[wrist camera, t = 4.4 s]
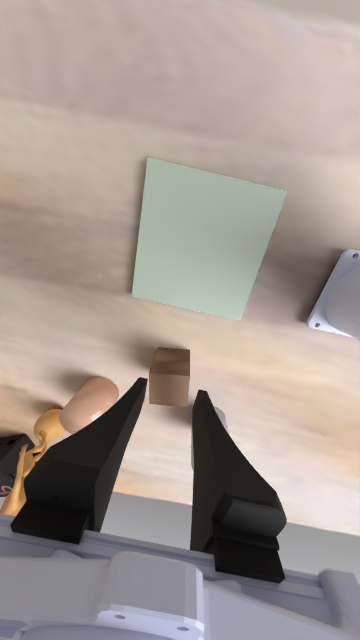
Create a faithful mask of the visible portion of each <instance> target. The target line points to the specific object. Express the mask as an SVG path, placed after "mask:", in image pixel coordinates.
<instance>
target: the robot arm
mask: <svg viewBox="0 0 360 640" xmlns="http://www.w3.org/2000/svg"><path fill="white" fill-rule="evenodd" d="M354 254H355V257H354V258H352V256H353V255H354ZM316 323H318V324H317V325H316V326H315V324H316ZM306 325H307V326H308V327H310V328H313V329H317V330H322V331H326V332H331V333H335V334H340V335H344V336H348V337H353V338H356V339H358V340H360V251H359V250H355V249H347V250H345V251H344V252H343V253H342V255H341V257H340V258H339V260H338V262H337V264H336V266H335V268H334V270H333V272H332V274H331V276H330V278H329V280H328V281H327V283H326V285H325V287H324V289H323V291H322V293H321V295H320V297H319V299H318V301H317V303H316V304H315V306H314V308H313V310H312V312H311V314H310V316H309V318H308V320H307V322H306ZM147 380H148V379H146V378H141V377H140V378H138V379H137V381H136V382H135V383H134V384H133V386H132V387H131V388H130V389H129V390H128V391H127V392H126V393H125V394H124V395H123V396H122V397H121V398H120V399H119V400H118V401H117V402H116V403H115V404H114V405H113V406H112V407H111V408H109V409H108V410H107V411H106V412H105V413H103V414H102V415H101V416H99V417H98V418H97V419H95V420H94V421H93V422H91V423H90V424H88V425H87V426H85V427H84V428H82V429H80V430H79V431H77V432H76V433H74V434H73V435H71V436H69V437H67V438H66V439H64V440H62V441H60V442H58V443H56V444H55V445H53V446H51V447H50V448H49V449H48V450H47V451H46V452H45V453H44V454H43V455H42V457H41V458H40V459H39V460H38V461H37V463H36V464H35V465H34V466H33V468H32V469H31V471H30V472H29V473H28V475H27V476H26V477H25V479H24V491H25V495H26V500H27V501H26V502H25V504H24V505H23V506H22V508H21V509H20V511H19V512H18V514H17V515H16V516H12V515H7V514H2V513H0V640H360V584H359V582H358V580H357V578H356V576H355V575H354V574H353V573H351V572H347V571H342V570H337V569H331V568H327V569H323V570H321V571H320V572H319V573H318V575H315V574H309V573H304V572H299V571H294V570H289V569H284V568H282V565H281V562H280V559H279V555H278V552H277V550H279V544H278V541H277V537H276V536H277V535H278V534H279V533H280V532H281V530H282V529H283V528H284V527H285V525H286V520H287V518H286V516H285V513H284V510H283V507H282V505H281V502H280V500H279V498H278V495H277V493H276V491H275V490H274V489H273V488H272V487H271V486H270V485H269V484H268V483H267V482H266V481H265V480H264V479H263V478H262V477H261V476H260V474H259V473H258V472H257V471H256V470H255V469H254V468H253V466H252V465H251V464H250V463H249V462H248V460H247V459H246V458H245V457H244V455H243V454H242V453H241V451H240V450H239V449H238V447H237V446H236V445H235V443H234V442H233V440H232V439H231V437H230V436H229V434H228V433H227V431H226V429H225V427H224V426H223V424H222V422H221V420H220V419H219V417H218V415H217V413H216V411H215V409H214V407H213V404H212V402H211V400H210V398H209V395H208V393H207V391H203V390H198V393H197V397H196V400H195V403H194V406H193V411H192V435H193V453H194V479H193V505H192V525H191V542H190V543H191V544H190V550H186V549H181V548H176V547H171V546H166V545H160V544H155V543H150V542H145V541H140V540H135V539H130V538H125V537H119V536H115V535H109V534H105V533H100V530H101V527H102V524H103V520H104V517H105V514H106V510H107V507H108V504H109V501H110V497H111V494H112V491H113V487H114V484H115V481H116V478H117V475H118V471H119V468H120V465H121V462H122V459H123V456H124V452H125V449H126V447H127V444H128V441H129V439H130V436H131V434H132V432H133V429H134V427H135V424H136V422H137V419H138V417H139V414H140V412H141V408H142V405H143V402H144V398H145V392H146V386H147Z"/></svg>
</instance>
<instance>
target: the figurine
mask: <svg viewBox="0 0 360 640" xmlns="http://www.w3.org/2000/svg"><path fill="white" fill-rule="evenodd" d="M61 411H62V410H61V409H51V410H49V411H47V412H45V413H43V414H42V415H41V416H40V417H39V418H38V420H37V421H36V423H35V425H34V434H35V436H36V438H37V439H39V443H40V444H41V445H39V446H37V447H35V448H33V449H31V450H29V451H27V452H26V448H27V446H26V444H25V445H24V448H23V446H22V449H21V452H19V455H20V458H19V462H18V466H17V475H16V479H15V483H14V487H13V490H12V491H11V492H10V493H9V495H8V496H7V497H6V499H5V500H4V503H3V505H2V508H1V509H0V513H2V514H7V515H12V516H16V515H17V514H18V512H19V511H20V509H21V508H22V506H23V505H24V504H25V502H26V501H27V500H26V495H25V491H24V479H25V477H26V476H27V475H28V473H29V472H30V471H31V469H32V468H33V466H34V465H35V461H38V460H39V459H40V458H41V457H42V455H43V454H44V453H45V452H46V449H47V442H48V441H51V440H54V439H56V438H57V437H59V436H60V435H61V434H62V433H63V432H64V431H65V429H64V428H63V427H62V425H61V423H60V421H59V414H60V412H61ZM27 445H28V444H27ZM25 446H26V447H25ZM41 450H42V453H40V454H38V455H36V456H35V457H33V455H32V453H37V452H40V451H41ZM25 452H26V453H25ZM22 476H23V478H22ZM21 478H22V480H21Z"/></svg>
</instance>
